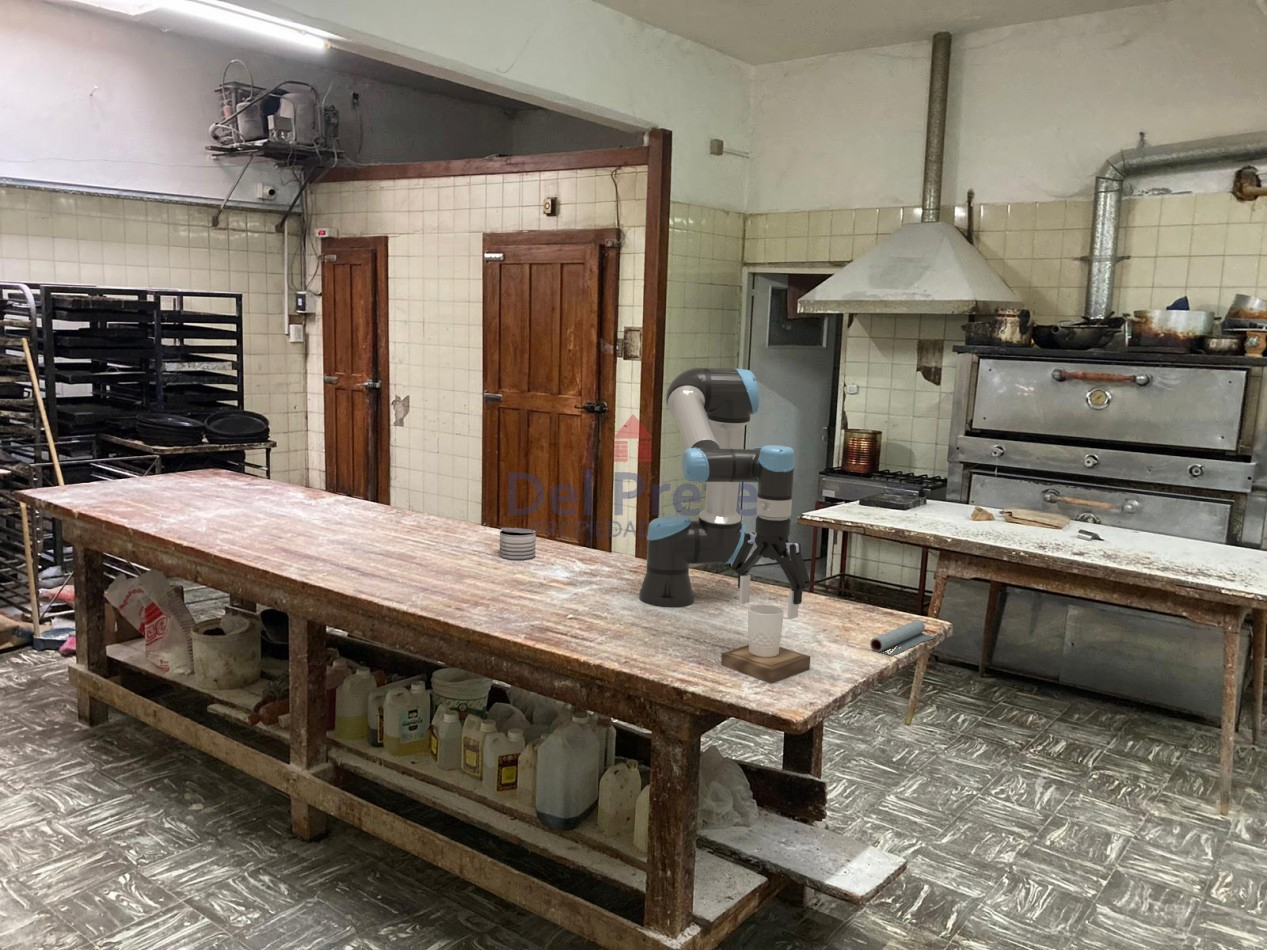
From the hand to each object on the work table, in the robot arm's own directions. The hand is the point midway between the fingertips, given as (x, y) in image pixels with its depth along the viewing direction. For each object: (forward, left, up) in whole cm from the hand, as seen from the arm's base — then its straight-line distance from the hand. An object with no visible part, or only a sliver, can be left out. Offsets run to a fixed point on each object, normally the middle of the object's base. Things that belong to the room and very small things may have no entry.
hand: (767, 610), depth 210 cm
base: (0, 0, -13) cm, 13 cm away
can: (-110, +14, -13) cm, 111 cm away
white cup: (-1, 0, -10) cm, 10 cm away
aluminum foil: (+11, +42, -14) cm, 45 cm away
